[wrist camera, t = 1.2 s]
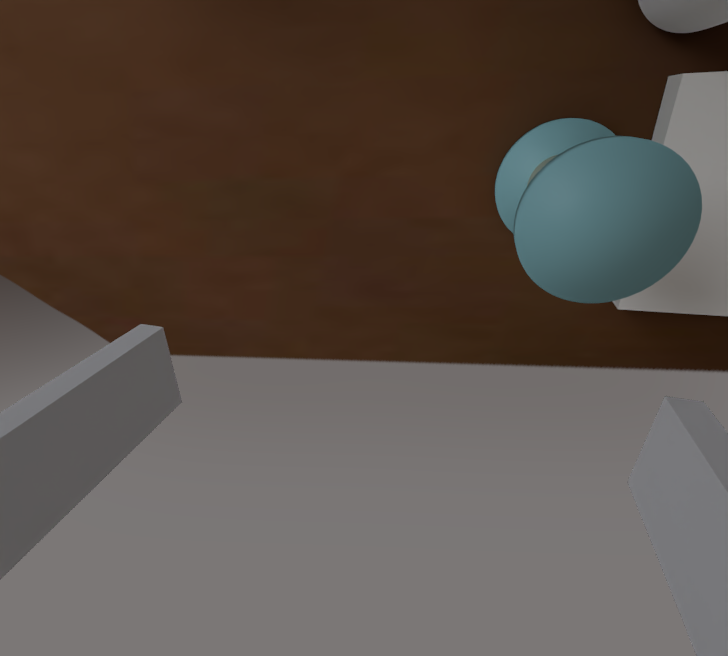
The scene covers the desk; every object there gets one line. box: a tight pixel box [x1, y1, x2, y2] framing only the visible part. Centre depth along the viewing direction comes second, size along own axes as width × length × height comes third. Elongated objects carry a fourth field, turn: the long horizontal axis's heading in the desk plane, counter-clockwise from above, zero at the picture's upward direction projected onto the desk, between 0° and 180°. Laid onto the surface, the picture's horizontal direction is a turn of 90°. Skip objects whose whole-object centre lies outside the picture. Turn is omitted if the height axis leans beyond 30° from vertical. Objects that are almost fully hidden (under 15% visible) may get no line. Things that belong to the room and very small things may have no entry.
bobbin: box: [495, 118, 702, 303], centre depth 23 cm, size 8×8×12 cm
